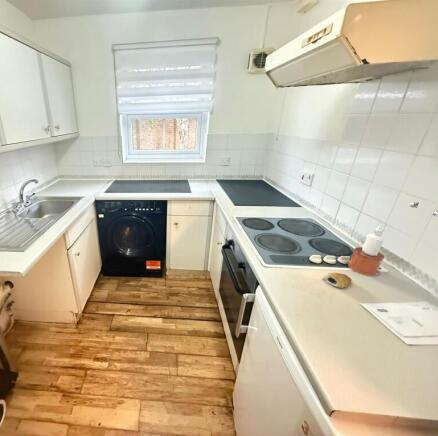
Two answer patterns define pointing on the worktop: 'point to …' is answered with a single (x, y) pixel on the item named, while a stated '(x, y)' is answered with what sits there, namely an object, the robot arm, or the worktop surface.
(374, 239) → the eye dropper bottle
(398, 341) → the worktop surface
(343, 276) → the pastry
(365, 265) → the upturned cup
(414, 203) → the robot arm
